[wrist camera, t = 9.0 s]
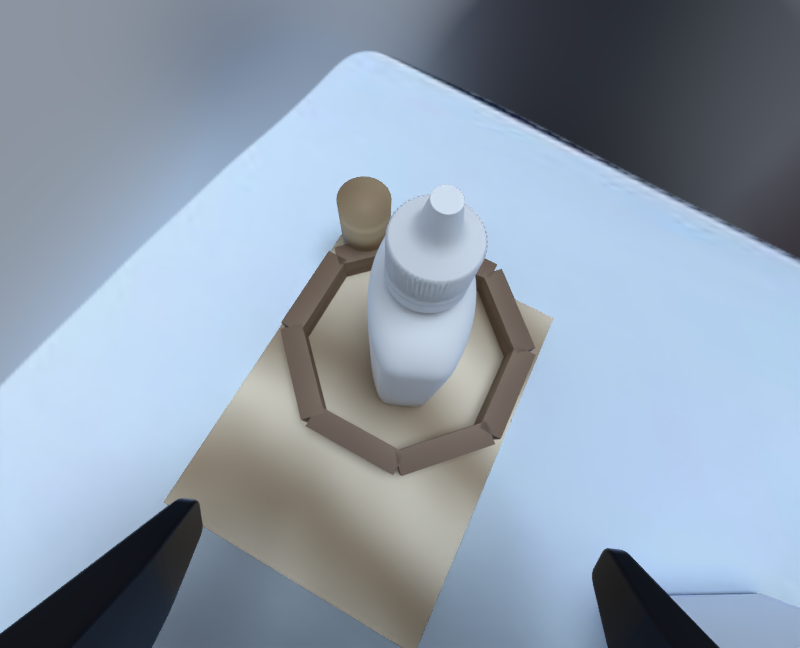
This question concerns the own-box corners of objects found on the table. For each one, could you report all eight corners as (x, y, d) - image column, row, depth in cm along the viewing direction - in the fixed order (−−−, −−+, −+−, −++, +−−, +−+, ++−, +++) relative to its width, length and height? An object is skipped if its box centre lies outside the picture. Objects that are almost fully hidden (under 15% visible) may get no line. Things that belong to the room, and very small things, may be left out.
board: (411, 640, 16) (425, 722, 11) (177, 498, 18) (98, 517, 13) (547, 317, 21) (598, 277, 16) (357, 224, 22) (351, 161, 18)
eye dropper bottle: (336, 372, 18) (269, 245, 7) (400, 284, 20) (429, 66, 9) (412, 424, 18) (471, 377, 7) (472, 329, 20) (602, 159, 8)
